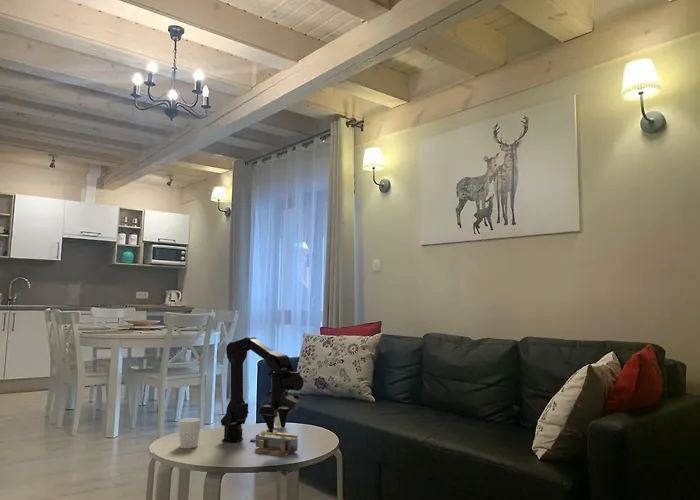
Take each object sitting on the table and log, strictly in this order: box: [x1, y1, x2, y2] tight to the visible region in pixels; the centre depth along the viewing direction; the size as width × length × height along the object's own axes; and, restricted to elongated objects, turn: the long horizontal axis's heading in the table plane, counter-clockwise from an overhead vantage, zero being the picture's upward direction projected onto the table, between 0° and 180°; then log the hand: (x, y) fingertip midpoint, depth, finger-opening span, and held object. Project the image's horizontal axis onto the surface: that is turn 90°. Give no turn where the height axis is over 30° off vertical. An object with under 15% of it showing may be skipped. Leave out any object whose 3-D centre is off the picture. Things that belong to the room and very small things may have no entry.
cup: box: [274, 413, 283, 429], centre depth 240 cm, size 7×10×8 cm
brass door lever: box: [260, 429, 298, 439], centre depth 216 cm, size 16×7×3 cm, turn 69°
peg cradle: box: [255, 440, 293, 457], centre depth 200 cm, size 12×10×4 cm
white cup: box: [178, 417, 201, 449], centre depth 205 cm, size 8×8×10 cm
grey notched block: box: [255, 433, 299, 452], centre depth 200 cm, size 18×4×4 cm, turn 69°
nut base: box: [250, 436, 256, 443], centre depth 217 cm, size 11×11×1 cm
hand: (277, 430), depth 201 cm, fingers open, 9 cm apart
